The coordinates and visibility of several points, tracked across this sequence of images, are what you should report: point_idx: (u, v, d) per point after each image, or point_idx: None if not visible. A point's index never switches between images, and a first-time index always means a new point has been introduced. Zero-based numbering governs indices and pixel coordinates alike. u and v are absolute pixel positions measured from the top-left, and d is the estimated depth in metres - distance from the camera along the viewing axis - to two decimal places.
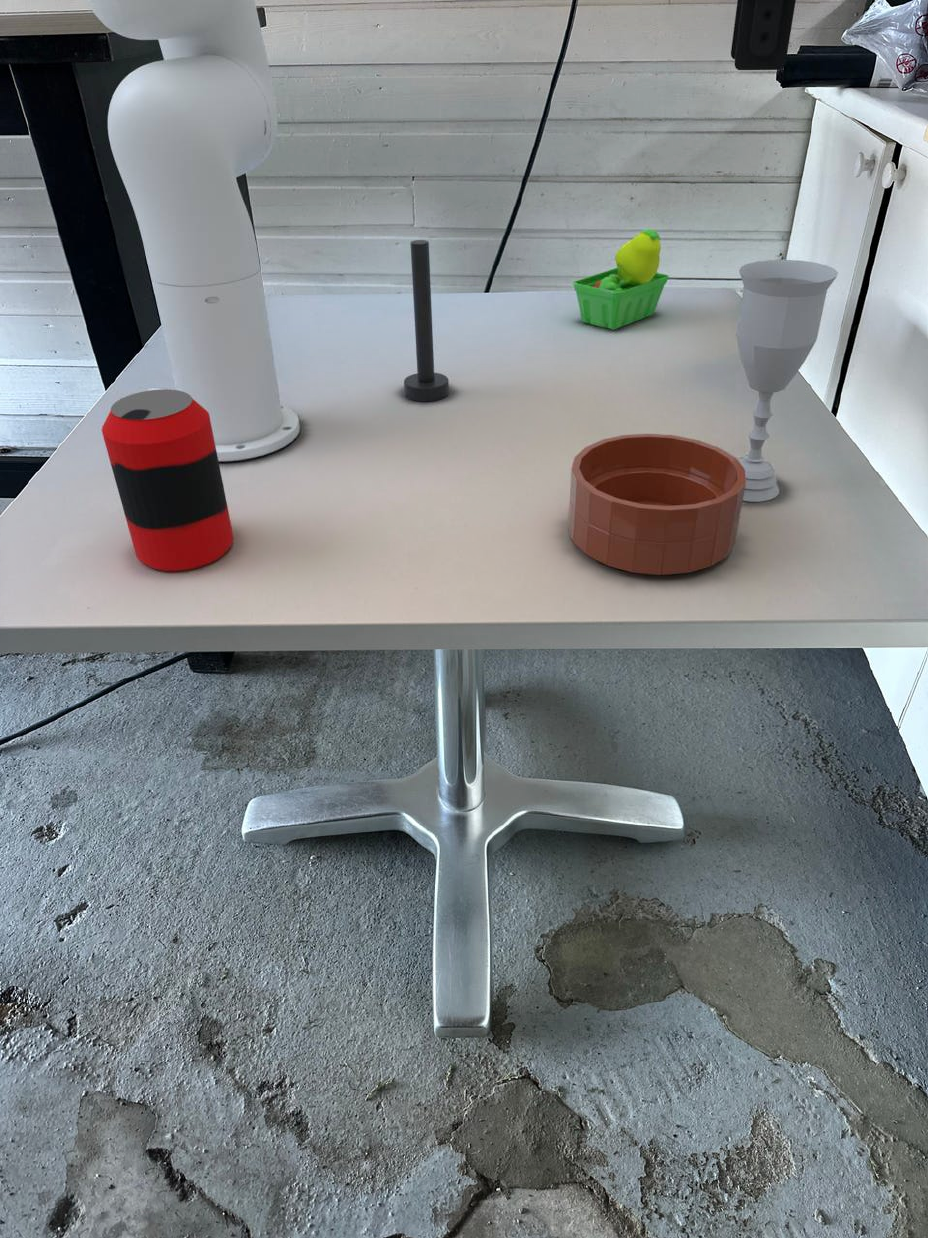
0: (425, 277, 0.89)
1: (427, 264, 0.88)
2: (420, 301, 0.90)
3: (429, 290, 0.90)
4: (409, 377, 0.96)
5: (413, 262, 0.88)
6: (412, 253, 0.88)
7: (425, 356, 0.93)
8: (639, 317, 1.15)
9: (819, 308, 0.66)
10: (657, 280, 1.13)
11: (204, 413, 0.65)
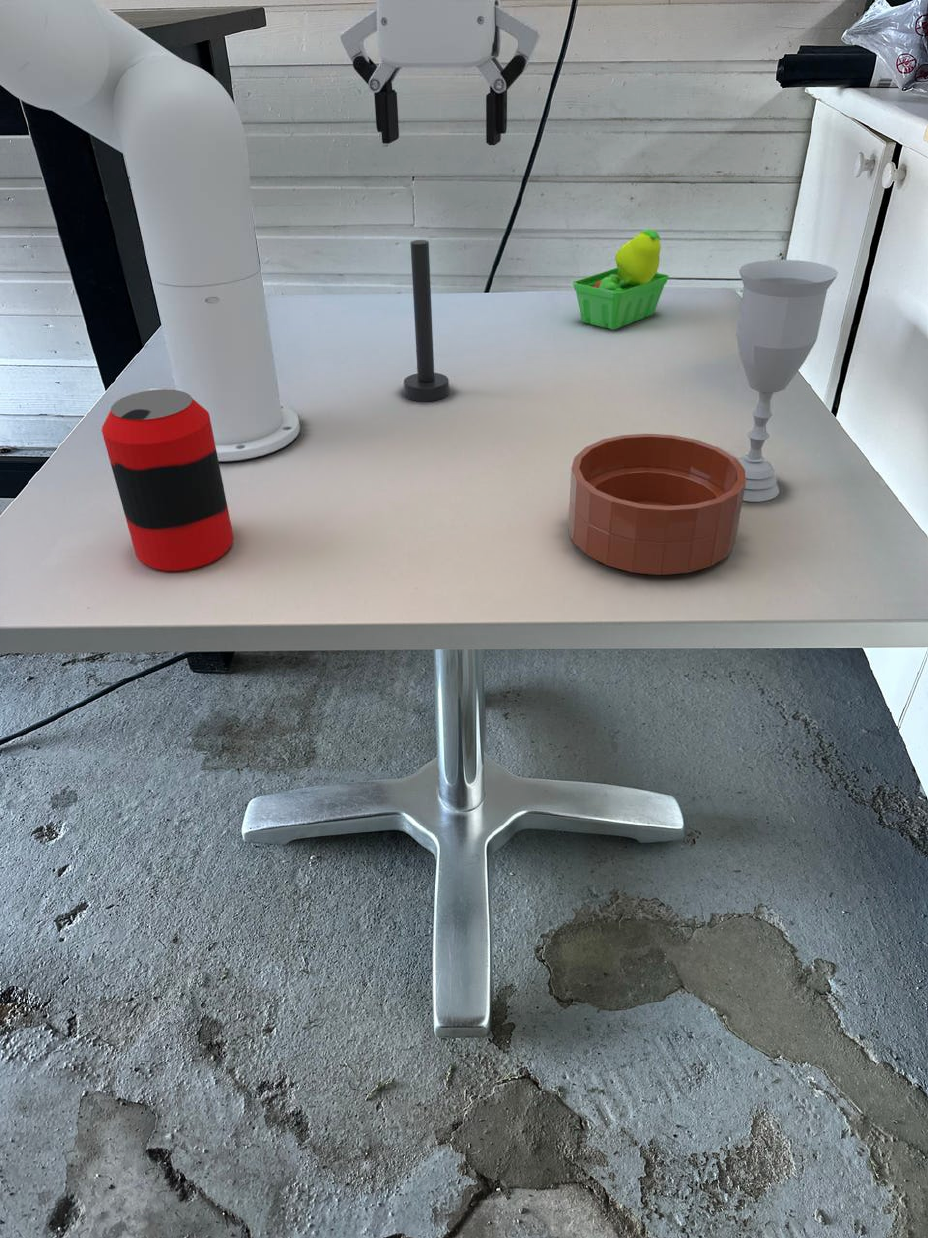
0: (425, 277, 0.89)
1: (427, 264, 0.88)
2: (420, 301, 0.90)
3: (429, 290, 0.90)
4: (409, 377, 0.96)
5: (413, 262, 0.88)
6: (412, 253, 0.88)
7: (425, 356, 0.93)
8: (639, 317, 1.15)
9: (819, 308, 0.66)
10: (657, 280, 1.13)
11: (204, 413, 0.65)
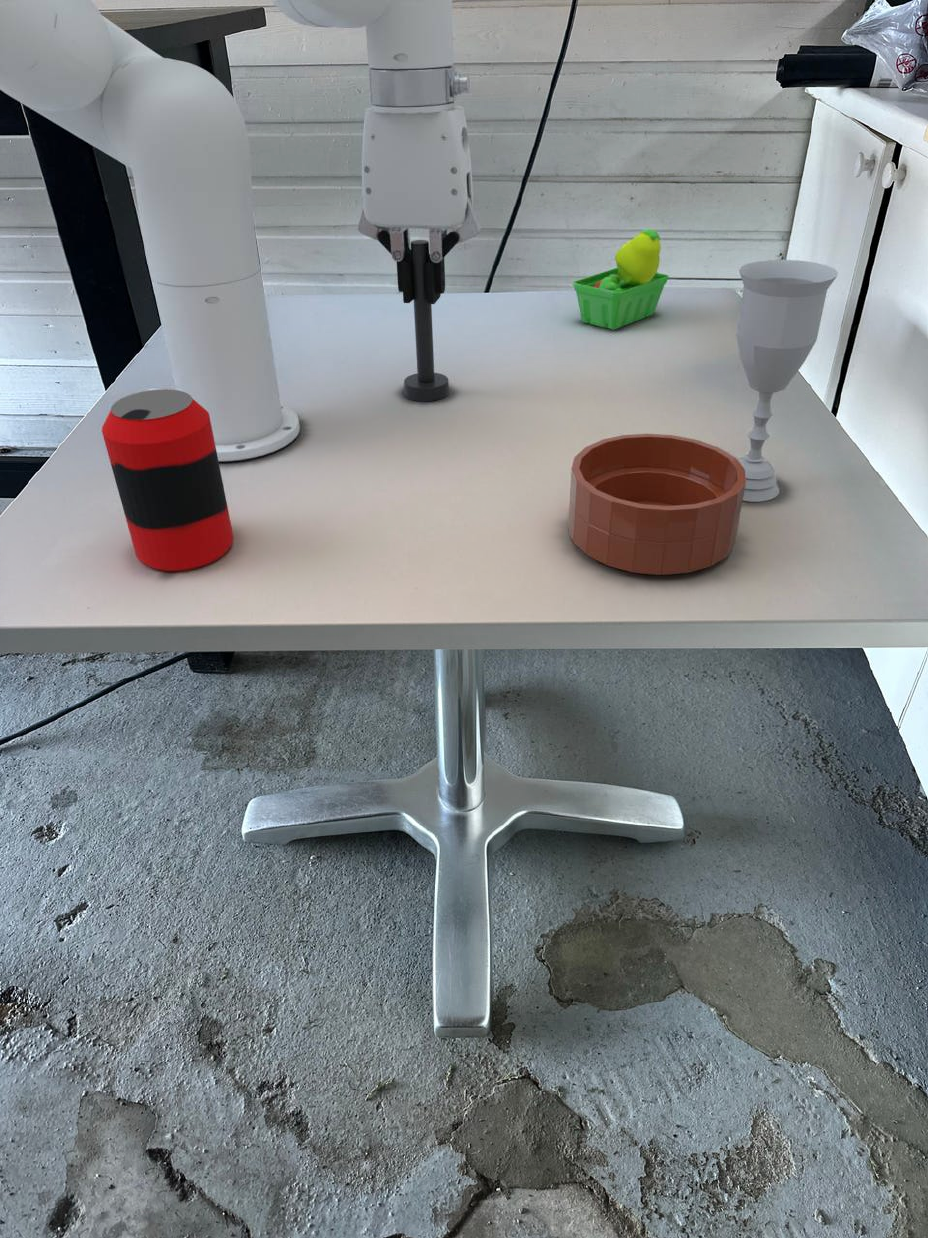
0: (425, 277, 0.89)
1: None
2: (420, 301, 0.90)
3: None
4: (409, 377, 0.96)
5: (413, 262, 0.88)
6: (412, 253, 0.88)
7: (425, 356, 0.93)
8: (639, 317, 1.15)
9: (819, 308, 0.66)
10: (657, 280, 1.13)
11: (204, 413, 0.65)
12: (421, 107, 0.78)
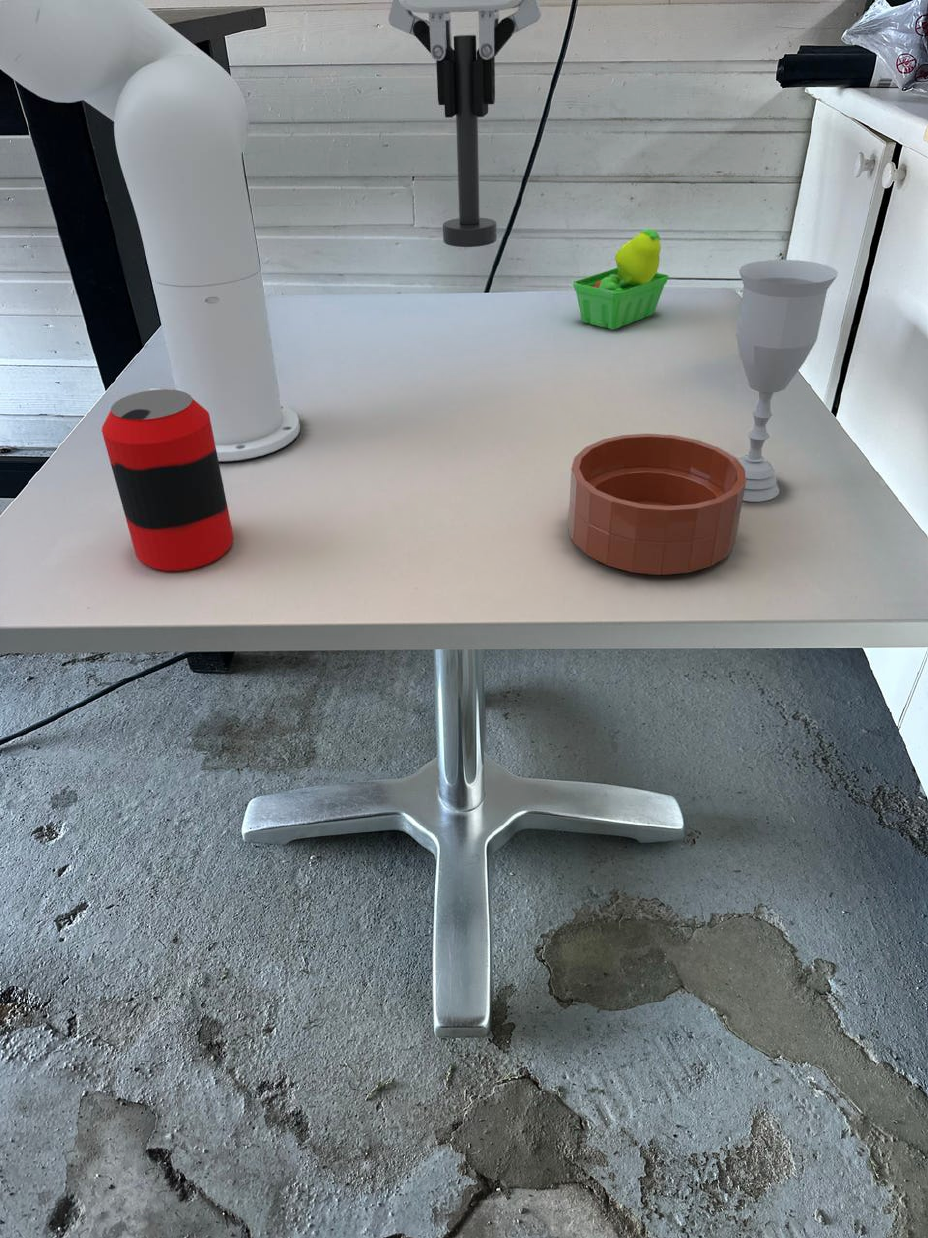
0: (472, 82, 0.72)
1: None
2: (465, 115, 0.74)
3: None
4: (448, 221, 0.80)
5: (457, 62, 0.72)
6: (456, 50, 0.71)
7: (470, 189, 0.77)
8: (639, 317, 1.15)
9: (819, 308, 0.66)
10: (657, 280, 1.13)
11: (204, 413, 0.65)
12: None
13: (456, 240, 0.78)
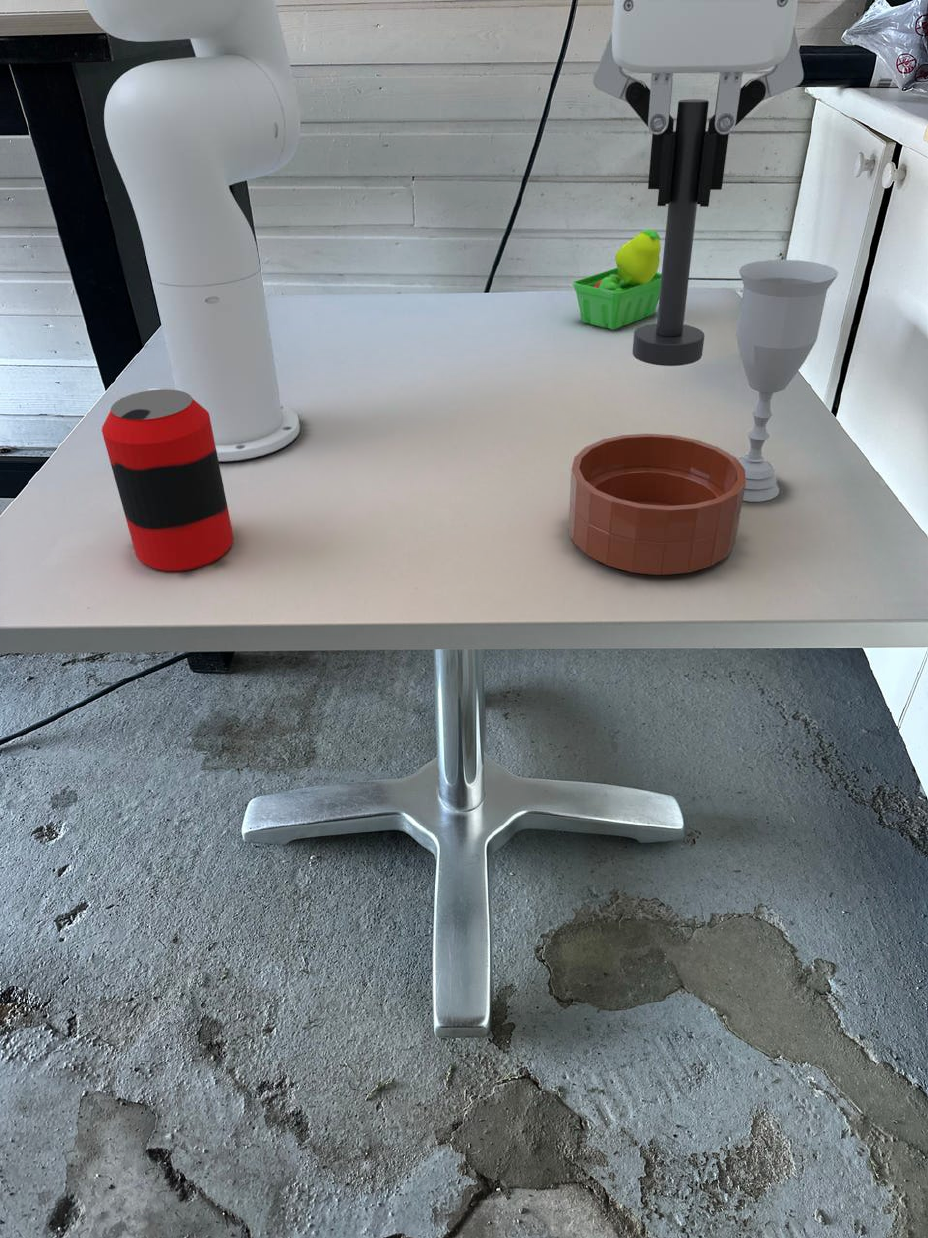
0: (697, 161, 0.55)
1: (702, 139, 0.54)
2: (683, 202, 0.56)
3: (698, 184, 0.56)
4: (640, 330, 0.62)
5: (681, 135, 0.54)
6: (681, 120, 0.54)
7: (677, 294, 0.59)
8: (639, 317, 1.15)
9: (819, 308, 0.66)
10: (657, 280, 1.13)
11: (204, 413, 0.65)
12: None
13: (654, 357, 0.61)
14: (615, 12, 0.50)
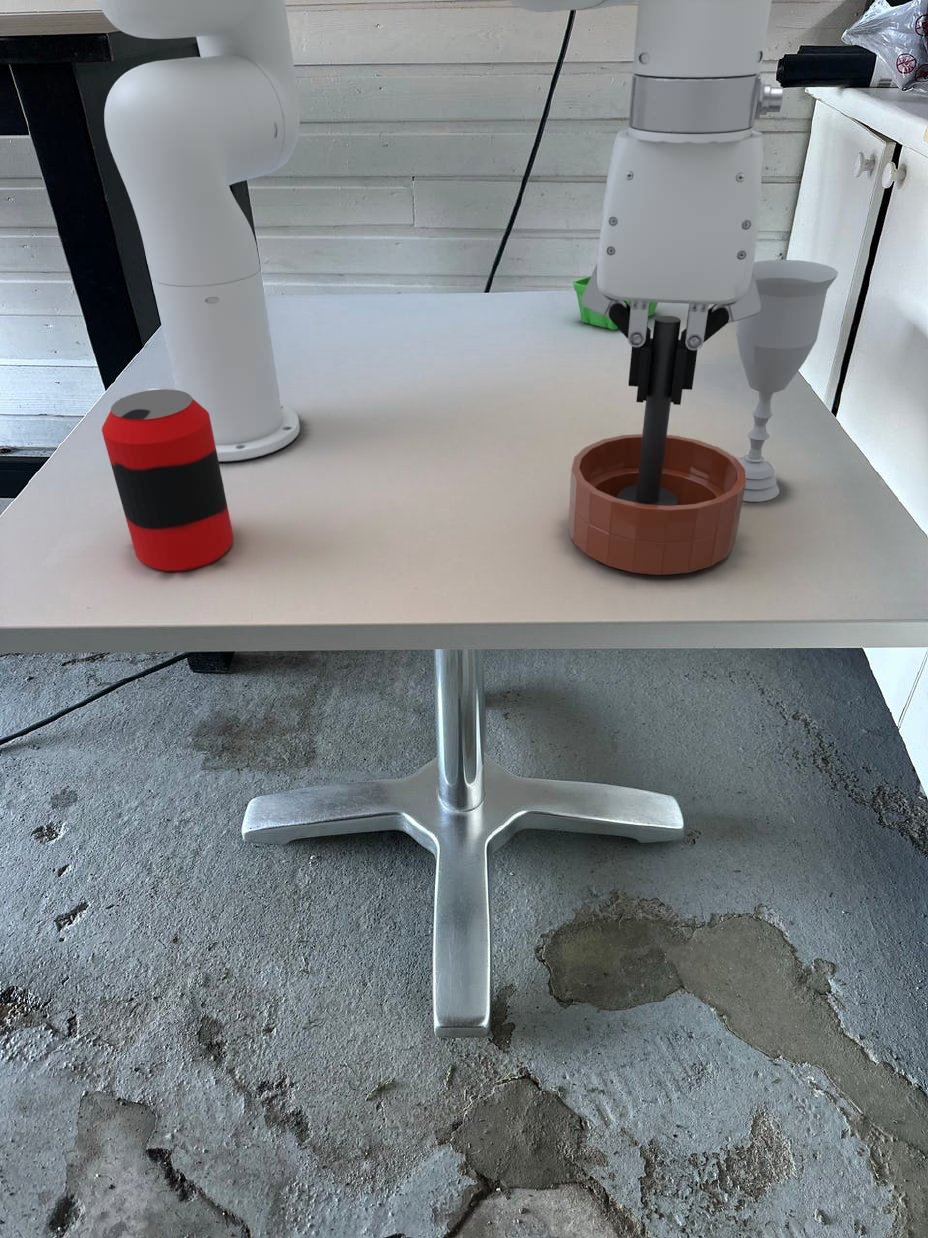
0: (671, 367, 0.63)
1: (675, 350, 0.63)
2: (659, 399, 0.65)
3: None
4: (622, 493, 0.71)
5: (656, 347, 0.63)
6: (657, 335, 0.62)
7: (654, 470, 0.68)
8: None
9: (819, 308, 0.66)
10: None
11: (204, 413, 0.65)
12: (718, 135, 0.52)
13: None
14: (600, 254, 0.59)
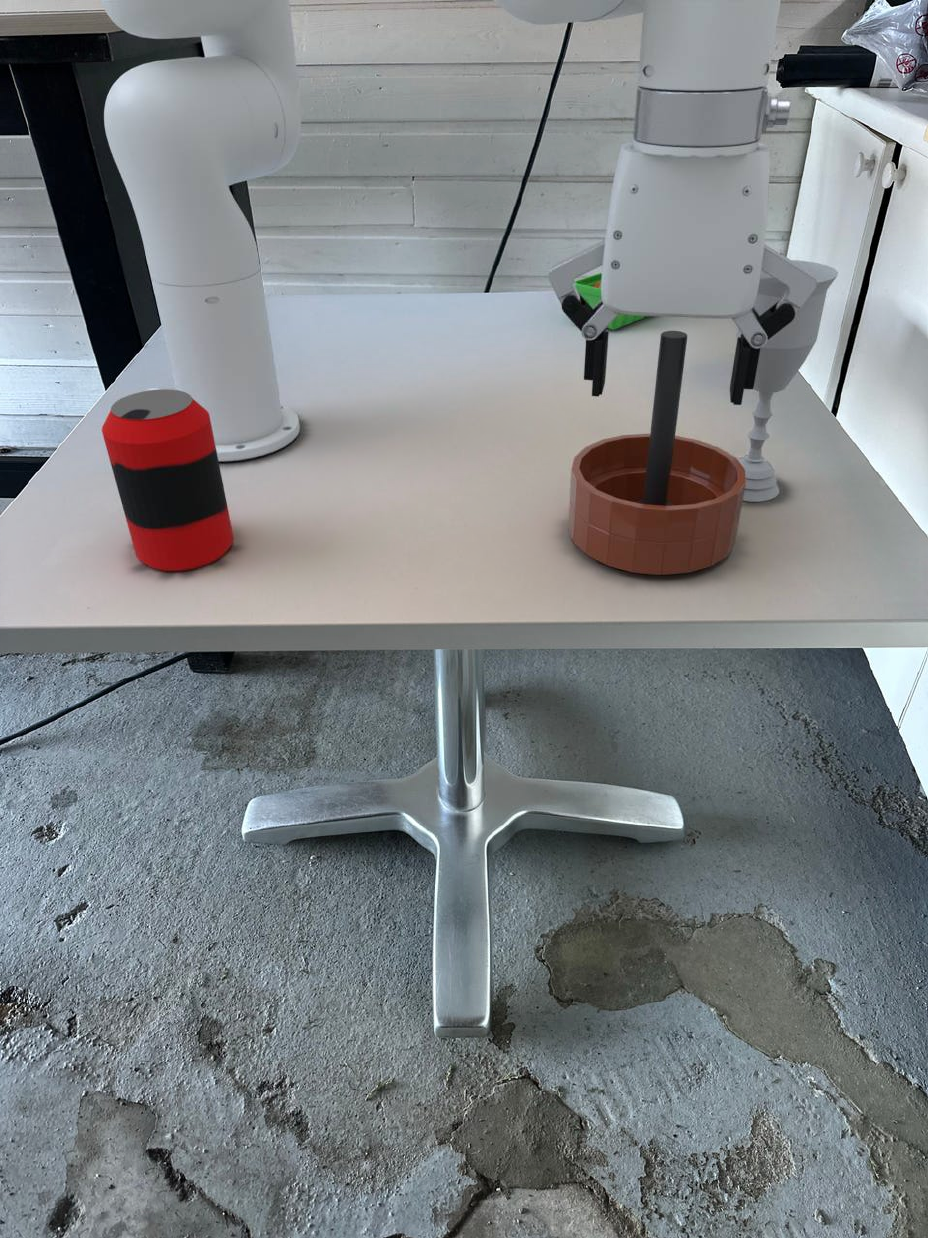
0: (677, 383, 0.62)
1: (682, 365, 0.62)
2: (665, 415, 0.64)
3: (679, 399, 0.64)
4: None
5: (663, 363, 0.62)
6: (663, 350, 0.61)
7: (660, 486, 0.67)
8: (639, 317, 1.15)
9: (819, 308, 0.66)
10: None
11: (204, 413, 0.65)
12: (724, 148, 0.51)
13: None
14: (604, 268, 0.58)
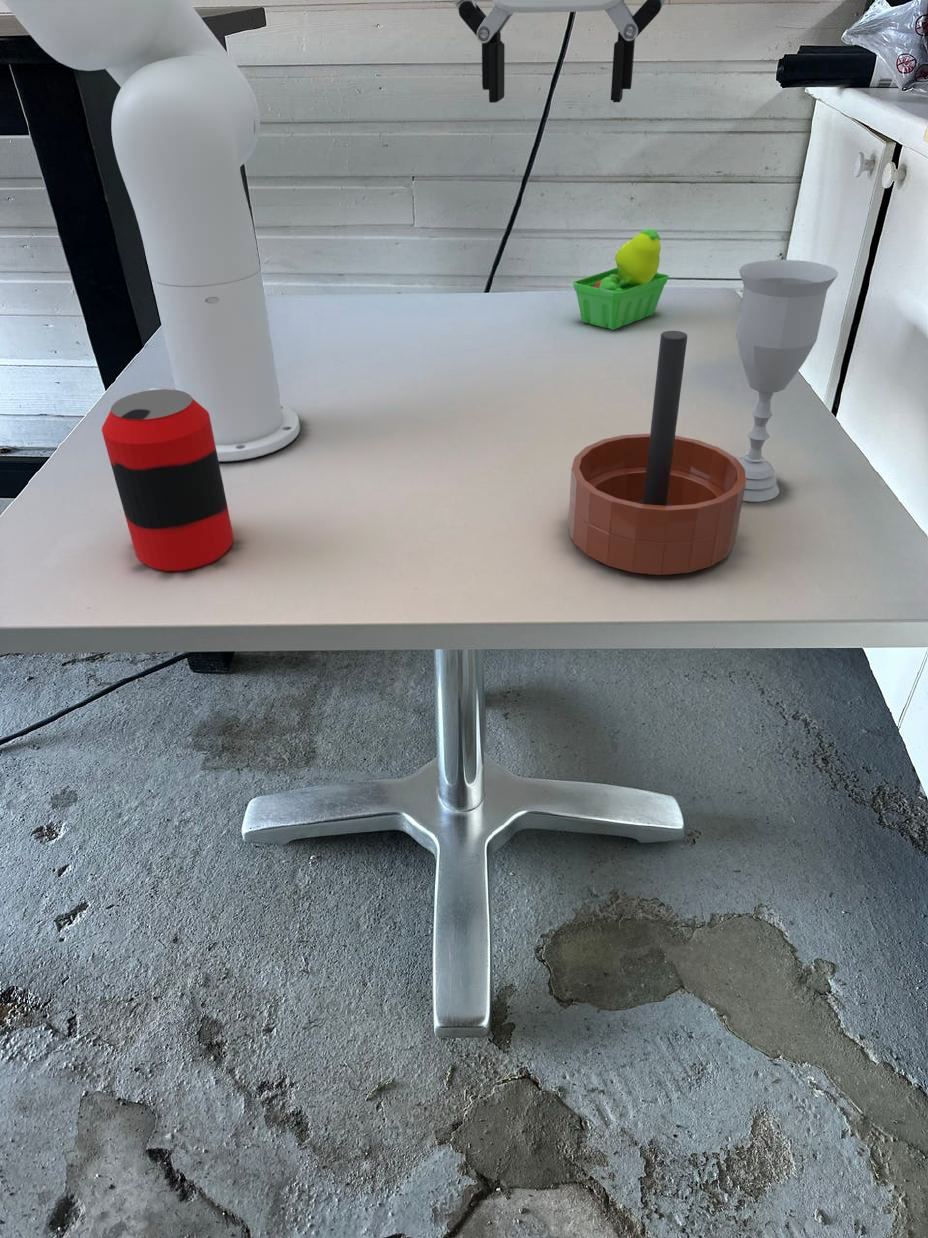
0: (677, 383, 0.62)
1: (682, 365, 0.62)
2: (665, 415, 0.64)
3: (679, 399, 0.64)
4: None
5: (663, 363, 0.62)
6: (663, 350, 0.61)
7: (660, 486, 0.67)
8: (639, 317, 1.15)
9: (819, 308, 0.66)
10: (657, 280, 1.13)
11: (204, 413, 0.65)
12: None
13: None
14: None
